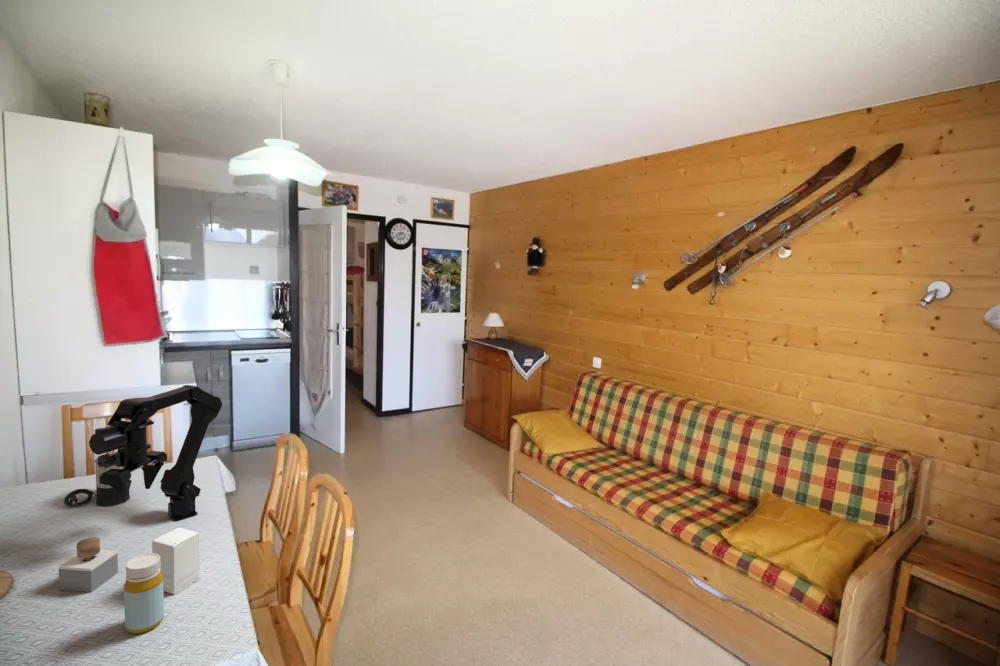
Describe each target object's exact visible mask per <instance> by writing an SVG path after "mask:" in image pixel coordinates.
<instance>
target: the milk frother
mask: <svg viewBox="0 0 1000 666" xmlns="http://www.w3.org/2000/svg"><path fill="white" fill-rule="evenodd" d="M108 454H109V455H110V454H111V453H108ZM97 461H98V457H97V458H96V459H94V463H95V482H96V483H95V484H96V485H95V487H96V491H95V492H96V493H95V492H93V491H92V490H90V489H87V488H78V489H74V490H73V491H71V492H70V493H68V494H66V496H65V497H64V498H63V504H64V505H65V506H67V507H70V508H71V507H73V508H74V507H81V506H84V505H86V504H88V503H90V502H91V501H92V500H93V498H94V497H93V496H95V497H96V498H95V505H96V506H97V507H98V506H99V507H113V506H117V505H120V504H122V503H121V502H120V500H119V498H118V496H117V494H116V492H115V490H114V489H113V488H112V487H111V486H110V485H104V484H100V483H99V476H100V475H101V474H102V473H104V472H106V471H108V470H110V469H123V467H116V465H113V466H110V467H108V468H106V469H104V467H99V465H98V463H97ZM79 494H83V495H87V496H88V497H87V498H86V499H84V500H82V501H78V500H79V499H78V498H77V496H76V495H79ZM130 498H131V495H130V492H129V493H128V497H127V500H126V502H128V501H129V500H131V499H130Z"/></svg>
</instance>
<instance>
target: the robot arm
mask: <svg viewBox="0 0 1000 666" xmlns="http://www.w3.org/2000/svg"><path fill="white" fill-rule="evenodd" d="M183 402H186V403H188V404H190V406H191V407H190V417H191V422H190V425H189V427H188V428H189V429H188V431H187V434H186V435H185V439H184V441H183V442H182V447H181V449H180V452H179V455H178V456H177V460H176V462H175V464H174V466H173V467H171V468H170V469H168V468H167V469H165V470H164V472H163V474H162V475H163V476H162V478H161V479H160V481H159V483H160V489H161V492H162V493H164V496H165V498H169V502H168V503H167V516H168V517H170V518H171V519H172V520H173V521H175V522H177V521H181V520H183V519H187V518H190V517H193V516H197V515H198V514H199V513H198V512H197V511H196V498H198V497H199V496H200V494H201V488H199V487H198V486H197V485H195V484H194V482H195V477H196V476H195V472H194V466H195V462H196V460H197V457H198V454H199V452H200V449H201V446H202V443H203V441H204V439H205V435H206V432H207V430H208V429H209V428H208V427H209V425H210V423H212V421H213V420H215V419H216V418H218V415H219V413H220V411H221V409H222V406H223V402H222V399H221V398H220V397H219V396H216V395H213V394H211V393H210V392H209V393H208V391H205V390H203V389H202V388H200V387H199V386H197V385H191V384H185V385H182V386H181V387H177V388H174V389H171V390H168V391H164V392H161V393H158V394H155V395H152V396H146V397H132V398H126V399H123V400H121V401H120V402H119V405H118V406H117V408H116V409H115V411H114V413H113V414H112V416H111V417H110V419H109V421H108V422H107V426H105V427H98V428H96V429H95V430H94V434H92V435H91V436H90V438H89V439H88V447H89V449H90V450H91V452H92V453H93V454H95V455H97V458H98V461H97V463H98V465H99V467H104V469H106V468H108V467H110V466H113V465H116V467H123V469H110V470H108V471H106V472H104V473H102V474H101V475H100V476H99V483H100V484H104V485H110V486H111V487H112V488H113V489H114V490H115V492H116V494H117V496H118V498H119V500H120V502H121V504H125V503H126V502H127V501H128V500H127V497H128V493H129V494H130V489H131V485H132V479H131V477H132V473H134V472H136V471H137V470H139V469H141V470H142V473H143V483H144V484H143V485H144V488H145V490H149V489H150V488H151V487H152V485H153V483H154V481H155V479H156V477H157V475H158V474H159V472H160V470H161V469H162V467H163V466H164V465H165V462H167V461H168V454H167V453H166V452H165V451H158V450H149V449H151V448H152V446H151V444H150V443H148V433H147V430H148V429H147V428H148V426H152V425H154V424H155V422H154V421H153V420H151V419H150V418H152V417H153V416H154V415H155V414H156V413H157V412H159V411H161V410H163V409H166V408H169V407H171V406H172V407H173V406H175V405H177V404H180V403H183ZM128 420H129V421H128ZM116 450H117V451H116ZM113 451H115V452H113ZM109 452H113V453H109ZM109 454H110V455H109ZM126 500H127V501H126Z"/></svg>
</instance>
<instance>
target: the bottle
mask: <svg viewBox="0 0 1000 666" xmlns="http://www.w3.org/2000/svg"><path fill="white" fill-rule="evenodd" d="M160 566H161V561H160V556H159V555H158V554H153V553H144V554H140V555H137V556H135V557H133V558H131V559H130V560H128V561H127V562H126V565H125V575H126V576H125V577H126V578H125V582H124V586H123V599H124V600H123V602H124V603H123V604H124V626H125V627H124V628H125V631H127V632H128V633H130V634H133V635H136V634H137V635H139V634H145V633H147V632H150V631H151V630H154V629H155V628H156V627H158V626H159V624H160V623H162V621H163V620H164V615H165V610H164V607H165V605H164V601H165V600H164V591H163V575H162V573H161V571H160Z"/></svg>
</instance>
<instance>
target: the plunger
mask: <svg viewBox="0 0 1000 666" xmlns="http://www.w3.org/2000/svg"><path fill="white" fill-rule="evenodd" d="M100 540H101V539H100V537H96V536H95V537H86V538H84V539H81V540H79V541H78V542H77V543H76V555H77V557H78V558H86V561H91V560H92V556H94V555H96V554H98V553H99V552H100V550H101V541H100Z"/></svg>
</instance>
